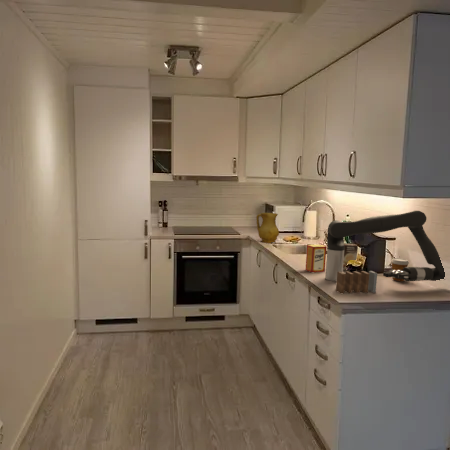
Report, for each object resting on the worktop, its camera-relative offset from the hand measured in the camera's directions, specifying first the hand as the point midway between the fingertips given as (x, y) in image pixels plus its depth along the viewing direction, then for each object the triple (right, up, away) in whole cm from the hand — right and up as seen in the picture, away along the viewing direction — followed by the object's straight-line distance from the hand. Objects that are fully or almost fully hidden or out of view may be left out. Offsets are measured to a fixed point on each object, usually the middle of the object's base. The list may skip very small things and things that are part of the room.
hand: (384, 274), depth 223 cm
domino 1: (-25, -8, -5) cm, 26 cm away
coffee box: (-6, -2, +48) cm, 49 cm away
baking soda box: (-28, -3, +40) cm, 49 cm away
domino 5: (-7, -8, -1) cm, 11 cm away
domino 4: (-12, -8, -2) cm, 14 cm away
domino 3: (-16, -8, -3) cm, 18 cm away
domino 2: (-20, -8, -4) cm, 22 cm away
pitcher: (-47, +11, +143) cm, 151 cm away
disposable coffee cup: (+17, -6, +26) cm, 32 cm away
